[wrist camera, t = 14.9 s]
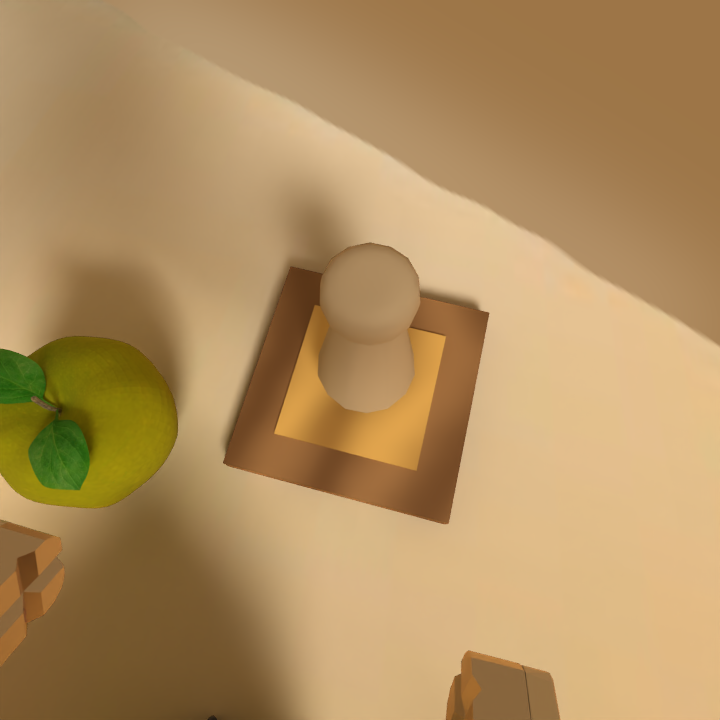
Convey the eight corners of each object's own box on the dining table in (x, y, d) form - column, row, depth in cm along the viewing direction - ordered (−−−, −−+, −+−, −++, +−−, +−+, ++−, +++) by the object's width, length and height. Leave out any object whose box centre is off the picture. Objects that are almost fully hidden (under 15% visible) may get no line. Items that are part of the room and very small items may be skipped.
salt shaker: (358, 440, 32) (357, 376, 19) (302, 370, 33) (269, 271, 21) (429, 382, 33) (471, 289, 21) (372, 318, 34) (380, 195, 22)
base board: (228, 466, 33) (222, 462, 31) (293, 276, 37) (290, 265, 36) (444, 524, 32) (449, 523, 30) (484, 321, 36) (490, 311, 35)
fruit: (100, 545, 31) (-11, 547, 22) (28, 428, 34) (-101, 384, 24) (226, 449, 33) (173, 413, 24) (149, 344, 36) (73, 274, 26)
